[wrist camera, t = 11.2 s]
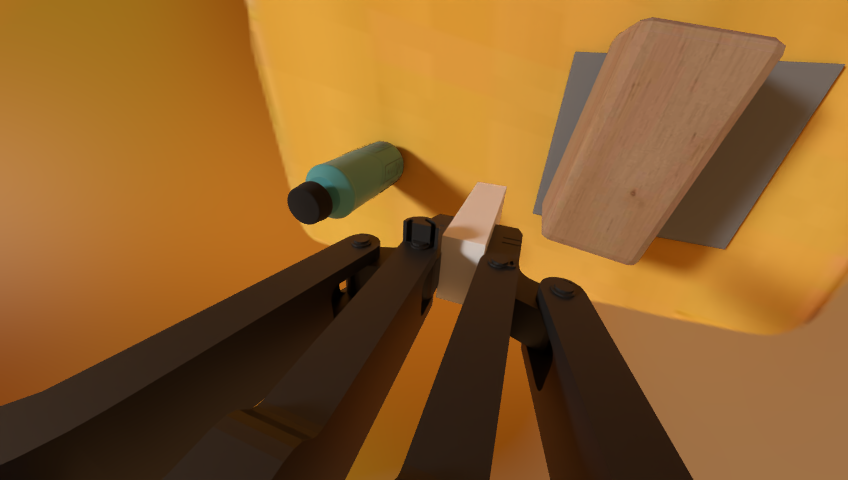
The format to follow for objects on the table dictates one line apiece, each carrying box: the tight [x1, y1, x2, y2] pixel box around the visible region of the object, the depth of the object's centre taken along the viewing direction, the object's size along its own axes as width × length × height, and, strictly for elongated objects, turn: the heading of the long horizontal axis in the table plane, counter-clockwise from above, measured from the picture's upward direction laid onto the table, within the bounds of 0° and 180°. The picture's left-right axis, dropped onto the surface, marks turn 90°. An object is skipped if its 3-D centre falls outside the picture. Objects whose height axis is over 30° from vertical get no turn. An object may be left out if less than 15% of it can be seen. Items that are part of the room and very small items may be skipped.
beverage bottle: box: [288, 142, 403, 224], centre depth 37 cm, size 6×7×20 cm
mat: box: [533, 52, 845, 249], centre depth 34 cm, size 19×22×1 cm
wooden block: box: [542, 17, 786, 265], centre depth 30 cm, size 10×10×20 cm
